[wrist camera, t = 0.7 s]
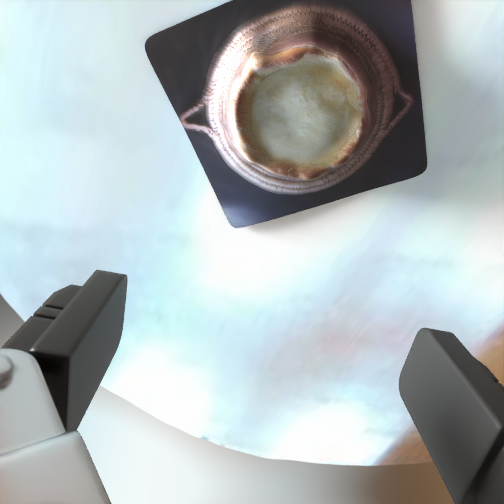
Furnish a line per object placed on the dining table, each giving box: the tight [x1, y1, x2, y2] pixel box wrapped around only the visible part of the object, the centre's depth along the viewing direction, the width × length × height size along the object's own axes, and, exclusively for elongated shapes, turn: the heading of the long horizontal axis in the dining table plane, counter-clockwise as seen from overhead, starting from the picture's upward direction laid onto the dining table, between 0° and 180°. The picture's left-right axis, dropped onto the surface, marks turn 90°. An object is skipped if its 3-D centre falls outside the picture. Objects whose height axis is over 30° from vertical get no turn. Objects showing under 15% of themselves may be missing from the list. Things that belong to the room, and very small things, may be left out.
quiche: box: [145, 0, 427, 228], centre depth 35 cm, size 21×20×4 cm
